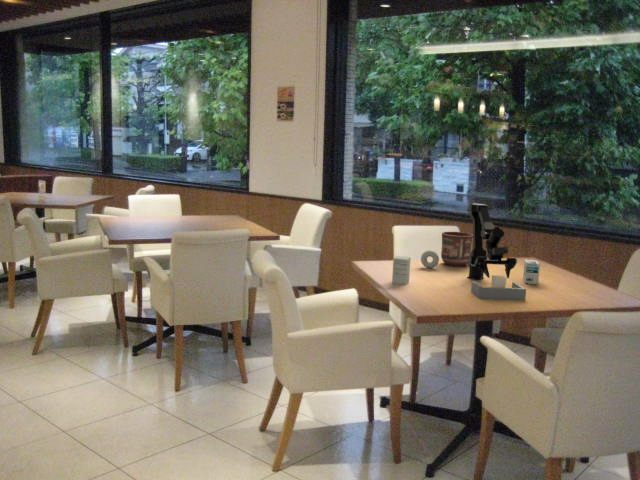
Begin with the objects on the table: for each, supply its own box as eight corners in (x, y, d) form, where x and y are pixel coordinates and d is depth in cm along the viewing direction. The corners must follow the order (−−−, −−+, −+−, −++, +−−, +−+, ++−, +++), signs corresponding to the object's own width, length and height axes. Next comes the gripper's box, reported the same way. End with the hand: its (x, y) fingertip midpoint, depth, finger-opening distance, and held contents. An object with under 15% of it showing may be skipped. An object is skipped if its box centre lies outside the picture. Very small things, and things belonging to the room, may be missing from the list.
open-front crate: (471, 291, 299) (471, 280, 298) (514, 292, 300) (515, 282, 299) (479, 298, 285) (480, 287, 284) (525, 299, 286) (526, 289, 285)
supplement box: (394, 280, 316) (396, 255, 314) (409, 281, 313) (411, 256, 311) (391, 283, 309) (393, 257, 307) (406, 284, 306) (408, 259, 304)
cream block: (490, 294, 295) (492, 275, 293) (501, 294, 295) (502, 275, 293) (493, 296, 290) (495, 277, 288) (504, 297, 290) (506, 277, 289)
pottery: (465, 269, 350) (467, 237, 347) (435, 264, 359) (437, 233, 356) (475, 264, 365) (478, 234, 362) (446, 260, 374) (448, 230, 371)
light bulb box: (538, 284, 318) (540, 263, 316) (524, 283, 319) (526, 262, 318) (535, 280, 328) (537, 260, 327) (522, 279, 330) (524, 259, 328)
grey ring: (438, 268, 349) (440, 250, 347) (437, 269, 345) (439, 251, 344) (420, 266, 352) (422, 249, 350) (419, 267, 349) (420, 250, 347)
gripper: (478, 239, 294) (483, 267, 285) (517, 240, 295) (523, 268, 286) (472, 253, 303) (477, 280, 294) (510, 254, 304) (516, 281, 295)
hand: (498, 277), depth 292 cm, fingers open, 9 cm apart
